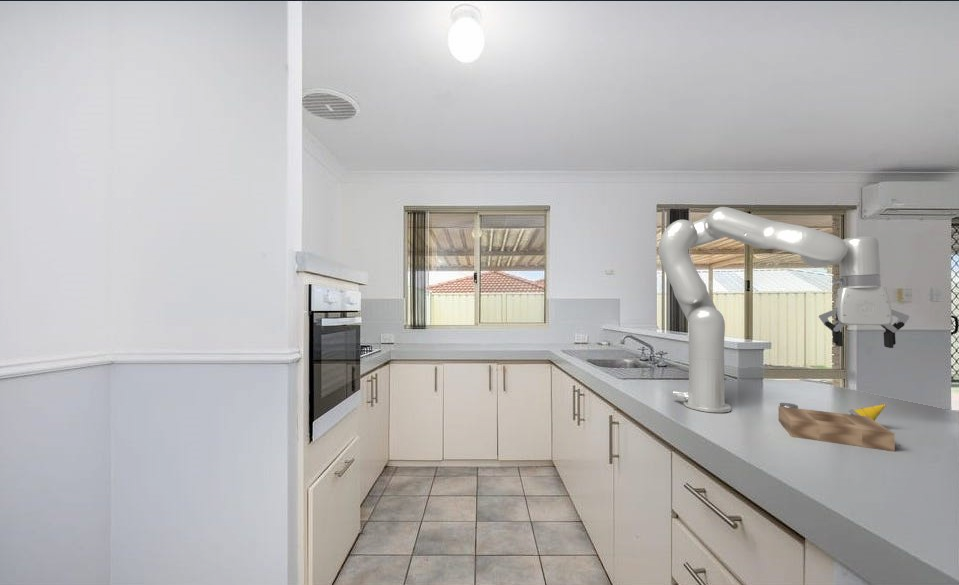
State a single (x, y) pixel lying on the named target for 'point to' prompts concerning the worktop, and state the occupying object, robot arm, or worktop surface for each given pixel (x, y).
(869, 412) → the yellow cone
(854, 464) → the worktop surface
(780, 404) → the short pin
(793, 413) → the wooden tray
